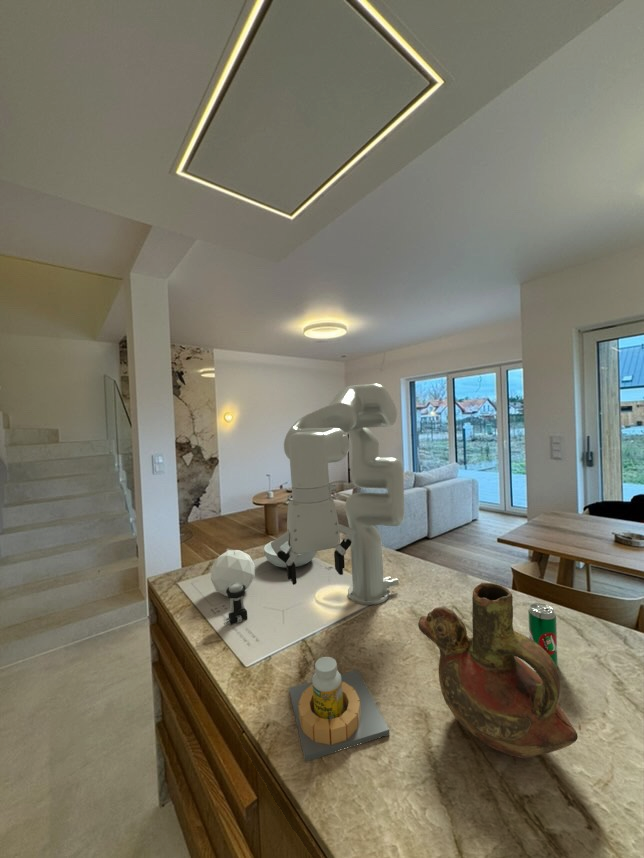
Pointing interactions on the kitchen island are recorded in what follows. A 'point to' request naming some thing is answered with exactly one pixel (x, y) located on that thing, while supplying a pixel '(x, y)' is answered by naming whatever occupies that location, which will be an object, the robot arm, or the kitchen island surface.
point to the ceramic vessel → (498, 677)
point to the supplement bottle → (327, 689)
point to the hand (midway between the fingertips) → (316, 576)
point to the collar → (331, 728)
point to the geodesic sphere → (232, 570)
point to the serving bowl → (274, 559)
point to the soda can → (543, 628)
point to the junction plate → (370, 717)
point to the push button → (236, 603)
